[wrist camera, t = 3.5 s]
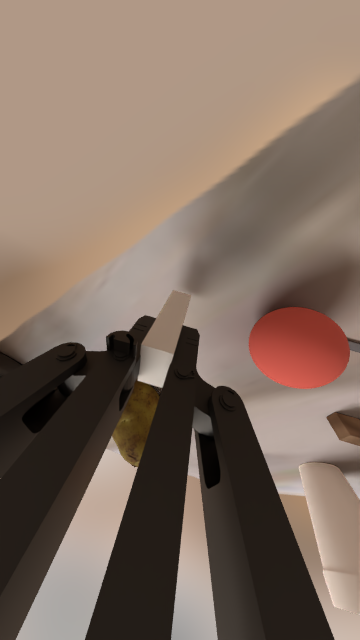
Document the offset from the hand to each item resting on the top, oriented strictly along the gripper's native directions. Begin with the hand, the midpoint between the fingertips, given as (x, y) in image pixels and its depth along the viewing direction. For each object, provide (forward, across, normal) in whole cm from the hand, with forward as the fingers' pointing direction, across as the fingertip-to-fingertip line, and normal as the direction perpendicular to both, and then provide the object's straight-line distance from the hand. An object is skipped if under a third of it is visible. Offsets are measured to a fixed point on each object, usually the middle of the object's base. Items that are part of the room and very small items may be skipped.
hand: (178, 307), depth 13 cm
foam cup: (+2, +32, -26) cm, 42 cm away
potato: (+2, -2, -18) cm, 18 cm away
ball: (-1, +9, 0) cm, 9 cm away
